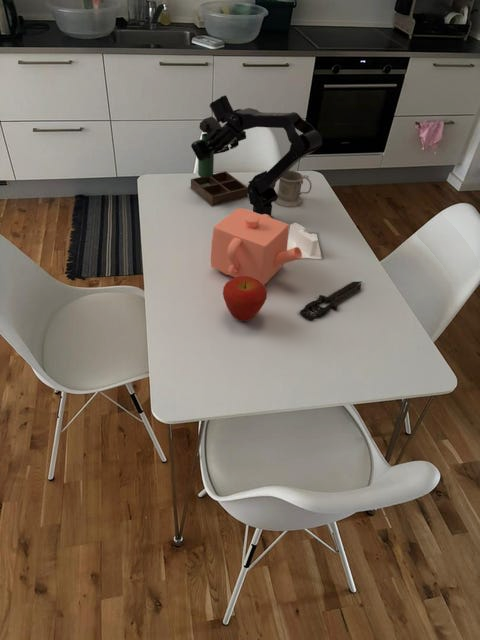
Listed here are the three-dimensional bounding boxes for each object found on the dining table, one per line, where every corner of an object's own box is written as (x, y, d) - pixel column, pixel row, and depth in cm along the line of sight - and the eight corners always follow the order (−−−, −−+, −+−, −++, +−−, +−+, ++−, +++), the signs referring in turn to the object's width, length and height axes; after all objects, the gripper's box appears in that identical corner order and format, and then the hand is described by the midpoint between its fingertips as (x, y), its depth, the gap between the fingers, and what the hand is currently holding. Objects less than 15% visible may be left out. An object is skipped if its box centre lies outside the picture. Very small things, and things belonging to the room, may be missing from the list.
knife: (357, 281, 151) (358, 277, 150) (373, 292, 147) (374, 288, 146) (294, 309, 139) (295, 306, 138) (310, 323, 135) (311, 319, 134)
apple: (271, 316, 136) (276, 281, 128) (246, 336, 129) (249, 300, 121) (239, 298, 141) (242, 263, 133) (213, 317, 134) (215, 280, 126)
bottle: (208, 179, 181) (209, 139, 171) (195, 175, 182) (195, 135, 173) (215, 173, 185) (216, 134, 175) (202, 170, 186) (203, 130, 177)
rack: (247, 196, 186) (248, 187, 184) (212, 206, 179) (212, 196, 177) (225, 179, 195) (225, 171, 193) (190, 188, 188) (190, 179, 186)
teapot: (311, 270, 153) (321, 218, 142) (277, 309, 138) (285, 255, 127) (241, 243, 162) (244, 192, 150) (202, 277, 147) (203, 224, 135)
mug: (269, 198, 186) (272, 167, 178) (287, 191, 191) (291, 161, 183) (297, 214, 179) (302, 183, 171) (316, 206, 184) (321, 176, 176)
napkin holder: (322, 258, 158) (325, 243, 155) (286, 257, 158) (289, 241, 154) (316, 233, 170) (319, 218, 166) (283, 231, 169) (285, 216, 165)
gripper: (234, 106, 172) (210, 129, 184) (195, 118, 161) (172, 141, 173) (250, 136, 173) (225, 156, 186) (212, 150, 162) (188, 171, 175)
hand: (203, 155), depth 180 cm, fingers closed on bottle, 5 cm apart
